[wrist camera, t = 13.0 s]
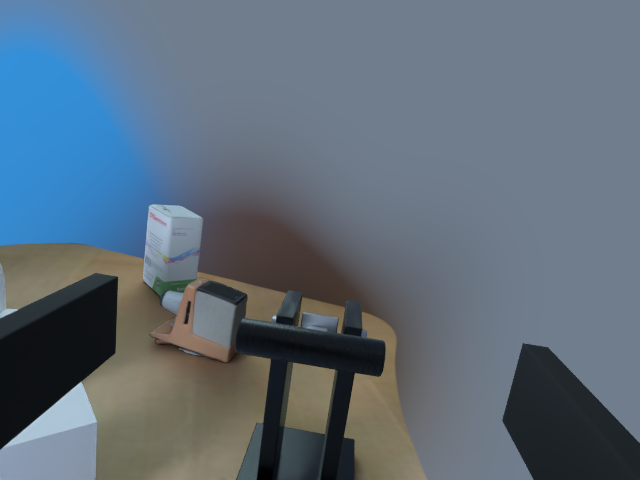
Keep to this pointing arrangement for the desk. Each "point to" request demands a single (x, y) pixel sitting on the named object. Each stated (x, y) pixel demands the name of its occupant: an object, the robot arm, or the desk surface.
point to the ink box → (171, 248)
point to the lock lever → (311, 344)
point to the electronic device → (203, 319)
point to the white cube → (55, 443)
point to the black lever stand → (297, 445)
